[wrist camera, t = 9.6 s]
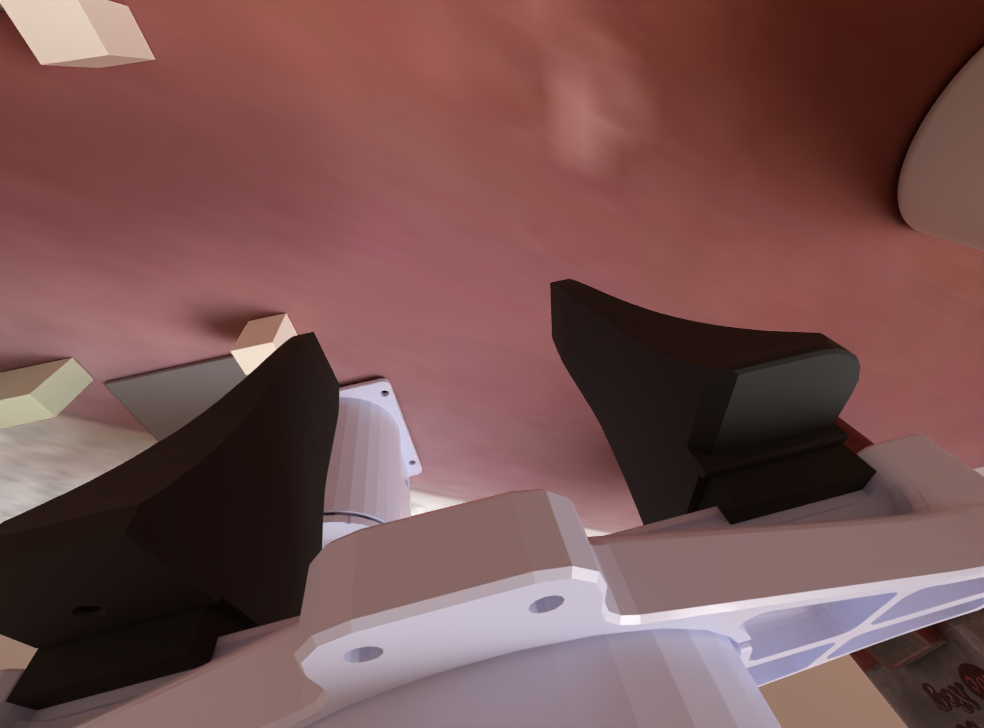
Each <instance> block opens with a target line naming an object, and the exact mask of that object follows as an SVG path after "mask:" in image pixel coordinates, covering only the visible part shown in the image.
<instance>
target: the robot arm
mask: <svg viewBox="0 0 984 728" xmlns="http://www.w3.org/2000/svg"><path fill="white" fill-rule="evenodd" d="M550 288H551V316H552V338H553V341H554V343H555V346H556V348H557V351H558V353H559V355H560V357H561V360H562V362H563V364H564V365H565V367H566V369H567V370H568V372H569V373H570V375H571V377H572V378H573V380H574V382H575V383H576V385H577V386H578V388H579V390H580V391H581V393H582V394H583V396H584V398H585V399H586V401H587V402H588V404H589V406H590V407H591V409H592V411H593V412H594V414H595V416H596V418H597V419H598V421H599V423H600V425H601V427H602V429H603V431H604V433H605V436H606V438H607V440H608V442H609V444H610V446H611V448H612V451H613V453H614V455H615V457H616V460H617V462H618V464H619V466H620V469H621V471H622V473H623V475H624V478H625V480H626V483H627V485H628V487H629V490H630V492H631V495H632V497H633V500H634V502H635V504H636V507H637V509H638V512H639V514H640V517H641V520H642V522H643V526H639V527H635V528H632V529H628V530H624V531H620V532H616V533H613V534H609V535H605V536H594V537H587V535H586V533H585V530H584V528H583V525H582V523H581V521H580V518H579V516H578V513H577V512H576V510H575V508H574V506H573V504H572V502H571V500H570V499H569V498H566V497H563V496H561V495H558V494H555V493H552V492H549V491H546V490H542V489H535V490H524V491H512V492H507V493H503V494H499V495H495V496H491V497H487V498H483V499H479V500H475V501H471V502H467V503H463V504H459V505H455V506H451V507H447V508H443V509H439V510H435V511H431V512H427V513H423V514H419V515H415V516H411V505H410V479H409V477H410V476H414V475H417V474H419V473H421V471H422V466H421V463H420V461H419V458H418V455H417V453H416V450H415V447H414V445H413V442H412V439H411V437H410V434H409V431H408V429H407V426H406V423H405V421H404V418H403V416H402V413H401V410H400V408H399V405H398V402H397V400H396V397H395V394H394V392H393V389H392V386H391V384H390V382H389V380H387V379H384V378H380V379H376V380H371V381H367V382H362V383H358V384H354V385H349V386H345V387H340V388H339V383H338V381H337V379H336V377H335V375H334V373H333V370H332V368H331V366H330V364H329V362H328V360H327V358H326V356H325V354H324V352H323V350H322V348H321V346H320V344H319V342H318V340H317V338H316V336H315V334H314V332H311V333H306V334H302V335H297V336H292V337H291V338H290V339H288V340H287V341H286V342H284V343H283V344H282V345H281V346H280V347H279V348H277V349H276V350H275V351H274V352H273V353H272V354H271V355H270V356H269V357H268V358H266V359H265V360H264V361H263V362H262V363H261V364H260V365H259V366H258V367H257V368H256V369H254V370H253V371H252V372H251V373H250V374H249V375H248V376H247V377H246V378H244V379H243V380H242V381H241V382H240V383H239V384H237V385H236V386H235V387H234V388H233V389H232V390H230V391H229V392H228V393H227V394H226V395H224V396H223V397H222V398H221V399H220V400H218V401H217V402H216V403H215V404H213V405H212V406H211V407H210V408H208V409H207V410H206V411H204V412H203V413H202V414H200V415H199V416H197V417H196V418H194V419H193V420H192V421H190V422H189V423H187V424H186V425H185V426H183V427H182V428H180V429H179V430H177V431H176V432H174V433H172V434H171V435H169V436H168V437H166V438H164V439H163V440H161V441H160V442H158V443H156V444H155V445H153V446H152V447H150V448H148V449H147V450H145V451H144V452H142V453H140V454H139V455H137V456H135V457H133V458H132V459H130V460H128V461H126V462H125V463H123V464H121V465H119V466H117V467H116V468H114V469H112V470H110V471H108V472H106V473H104V474H102V475H101V476H99V477H97V478H95V479H93V480H91V481H89V482H87V483H85V484H83V485H81V486H79V487H77V488H75V489H73V490H71V491H69V492H67V493H65V494H63V495H61V496H58V497H56V498H54V499H52V500H50V501H48V502H46V503H44V504H41V505H39V506H37V507H35V508H33V509H31V510H29V511H26V512H24V513H22V514H20V515H18V516H16V517H13V518H11V519H9V520H6V521H4V522H3V523H1V524H0V634H1V635H4V636H6V637H9V638H12V639H14V640H17V641H19V642H22V643H24V644H27V645H30V646H32V647H35V648H38V650H37V652H36V653H35V655H34V656H33V658H32V660H31V661H30V663H29V664H28V666H27V668H26V669H4V670H0V728H781V726H780V724H779V723H778V721H777V719H776V718H775V716H774V714H773V713H772V711H771V709H770V708H769V706H768V704H767V702H766V701H765V699H764V697H763V696H762V694H761V692H760V691H759V689H758V687H760V686H762V685H765V684H768V683H771V682H773V681H776V680H779V679H781V678H784V677H787V676H789V675H792V674H795V673H798V672H801V671H803V670H806V669H808V668H811V667H814V666H817V665H819V664H822V663H825V662H828V661H831V660H833V659H836V658H839V657H841V656H844V655H847V654H850V653H852V652H855V651H858V650H861V649H863V648H866V647H869V646H872V645H875V644H877V643H880V642H883V641H886V640H889V639H891V638H894V637H897V636H900V635H903V634H906V633H909V632H912V631H915V630H918V629H921V628H924V627H927V626H930V625H933V624H936V623H939V622H942V621H945V620H949V619H952V618H955V617H958V616H961V615H964V614H968V613H971V612H974V611H977V610H980V609H982V608H984V477H983V476H982V475H980V474H979V473H978V472H976V471H975V470H973V469H972V468H970V467H969V466H967V465H966V464H964V463H963V462H962V461H960V460H959V459H957V458H956V457H954V456H953V455H951V454H950V453H948V452H947V451H946V450H944V449H943V448H941V447H940V446H938V445H937V444H935V443H934V442H932V441H931V440H930V439H928V438H927V437H925V436H924V435H922V434H911V435H907V436H903V437H899V438H896V439H892V440H888V441H884V442H880V443H876V444H873V445H870V446H868V447H866V448H864V449H863V450H861V451H859V452H858V453H857V454H855V453H854V452H853V451H852V450H851V449H849V448H848V447H847V446H846V445H845V444H843V443H842V442H845V441H846V440H847V439H848V435H847V433H846V432H845V431H844V430H843V429H841V428H840V427H839V426H838V425H836V424H835V423H834V422H835V421H836V419H837V417H838V416H839V414H840V412H841V411H842V409H843V407H844V406H845V404H846V402H847V401H848V399H849V397H850V396H851V394H852V393H853V391H854V388H855V386H856V384H857V382H858V380H859V372H860V364H859V361H858V359H857V356H855V355H854V354H853V353H851V352H850V351H848V350H847V349H845V348H844V347H842V346H840V345H839V344H837V343H836V342H834V341H833V340H831V339H829V338H828V337H826V336H825V335H823V334H821V333H804V332H779V331H761V330H751V329H741V328H732V327H725V326H718V325H712V324H706V323H701V322H695V321H690V320H685V319H681V318H677V317H673V316H669V315H665V314H661V313H658V312H655V311H651V310H648V309H645V308H642V307H639V306H637V305H634V304H631V303H628V302H626V301H623V300H620V299H618V298H615V297H613V296H611V295H608V294H606V293H604V292H601V291H599V290H597V289H594V288H592V287H590V286H587V285H585V284H583V283H580V282H578V281H575V280H572V279H566V280H561V281H556V282H552V283H550ZM385 390H386V391H388V392H387V393H383V392H381V391H385ZM412 460H413V461H412Z"/></svg>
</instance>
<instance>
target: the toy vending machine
mask: <svg viewBox="0 0 984 728" xmlns="http://www.w3.org/2000/svg"><path fill="white" fill-rule="evenodd" d="M834 423H835V424H836V425H838V426H839V427H840V428H841V429H843V430H844V431H845V432H846V433H847V435H848V439H847V440H846V441H845V442H842V443H843V444H845V445H846V446H847V447H848V448H849V449H851V450H852V451H853V452H854V453H855V454H857V453H858V452H859V451H861V450H863V449H864V448H866V447H868V446H870V445H873V444H874V443H873V442H871V441H870V440H869V439H867V438H866V437H865V436H863V435H862V434H861V433H859V432H858V431H857V430H855V429H854V428H853V427H851V426H850V425H849V424H847V423H846V422H845V421H843V420H842V419H841V418H839V417H837V419H836V421H835V422H834ZM850 655H851V657H852V658H853V659H854V660H855V662H856V663H857V664H858V665H859V667H860V668H861V669H862V670H863V672H864V673H865V674H866V675H867V677H868V678H869V679H870V680H871V682H872V683H873V684H874V686H875V687H876V688H877V689H878V690H879V692H880V693H881V694H882V695H883V696H884V698H885V699H886V700H887V702H888V703H889V704H890V706H891V707H892V708H893V709H894V711H895V712H896V713H897V714H898V716H899V717H900V718H901V719H902V721H903V722H904V723H905V724H906V726H907V727H908V728H984V608H982V609H980V610H977V611H974V612H971V613H968V614H964V615H961V616H958V617H955V618H952V619H949V620H945V621H942V622H939V623H936V624H933V625H930V626H927V627H924V628H921V629H918V630H915V631H912V632H909V633H906V634H903V635H900V636H897V637H894V638H891V639H889V640H886V641H883V642H880V643H877V644H875V645H872V646H869V647H866V648H863V649H861V650H858V651H855V652H852V653H850Z"/></svg>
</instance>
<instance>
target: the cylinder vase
mask: <svg viewBox="0 0 984 728" xmlns="http://www.w3.org/2000/svg"><path fill="white" fill-rule="evenodd" d="M897 196H898V206H899V210H900V213H901V215H902V217H903V219H904V220H905V222H906V223H907V224H908V225H909V226H910V227H911V228H913V229H914V230H916V231H918V232H920V233H923V234H926V235H929V236H933V237H936V238H940V239H943V240H947V241H950V242H954V243H958V244H961V245H965V246H968V247H972V248H975V249H979V250H982V251H984V46H983V47H982V48H981V49H980V50H979V51H978V52H977V53H976V54H975V55H974V56H973V57H972V58H971V59H970V60H969V61H968V62H967V63H966V64H965V66H964V67H963V68H962V69H961V70H960V71H959V72H958V73H957V75H956V76H955V77H954V78H953V79H952V81H951V82H950V83H949V84H948V85H947V87H946V88H945V89H944V91H943V92H942V93H941V95H940V96H939V97H938V99H937V100H936V102H935V103H934V104H933V106H932V107H931V109H930V110H929V112H928V114H927V115H926V117H925V118H924V120H923V122H922V123H921V125H920V127H919V129H918V131H917V132H916V134H915V136H914V138H913V140H912V142H911V145H910V147H909V149H908V152H907V154H906V157H905V159H904V162H903V165H902V169H901V172H900V177H899V182H898V193H897Z"/></svg>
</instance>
